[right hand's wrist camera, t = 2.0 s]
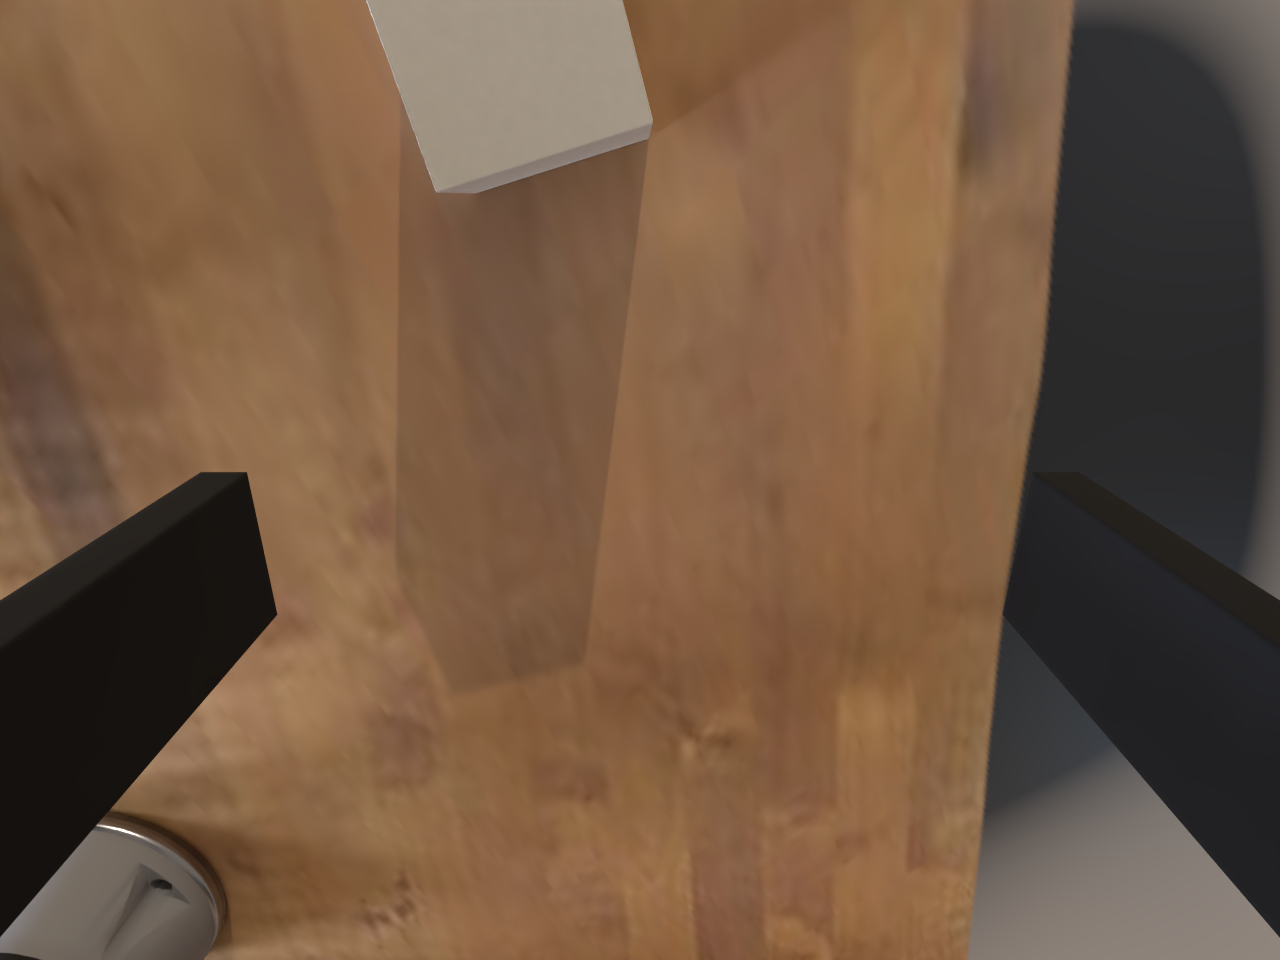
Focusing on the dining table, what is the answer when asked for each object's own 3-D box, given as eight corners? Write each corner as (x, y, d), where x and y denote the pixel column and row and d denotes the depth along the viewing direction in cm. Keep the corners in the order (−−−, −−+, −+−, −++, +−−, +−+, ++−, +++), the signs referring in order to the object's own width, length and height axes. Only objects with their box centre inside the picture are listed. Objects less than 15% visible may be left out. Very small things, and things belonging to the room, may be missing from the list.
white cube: (649, 138, 34) (654, 123, 27) (475, 193, 35) (435, 193, 28) (591, -89, 31) (578, -173, 24) (400, -22, 32) (335, -84, 25)
